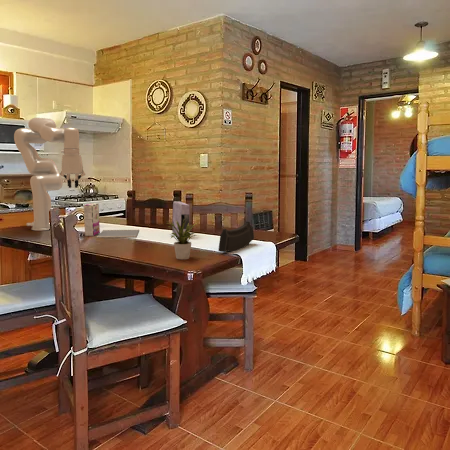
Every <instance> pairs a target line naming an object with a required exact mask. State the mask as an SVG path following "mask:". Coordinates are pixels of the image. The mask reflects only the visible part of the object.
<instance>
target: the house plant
mask: <svg viewBox="0 0 450 450" xmlns="http://www.w3.org/2000/svg"><path fill="white" fill-rule="evenodd" d="M184 220H185V219H184ZM176 221H177V220H176ZM176 223H177V226H178V229H179V232H178V230H177V229H176V227H175V226H174V225H173V223H172V222H171V221H168V220H167V224H169V226H168V227H169V228H171V229H173V227H174V228H175V229H176V231H177V233H178V235H179V237H178V236H177V234H176V232H175V231H174V229H173V231H174V232H175V233H173V232H172V233H169V235H170V239H172V238H174V239H175V240H176V241H175V242H173V246H174V253H175V257H176V258H175V259H177V260H188V259H190V254H191V250H192V241H189V240H190V239H191V238H192V237H194V236H197V235H196V234H195V232H190V231H191V229H193V228H194V227H195V225H197V224H199V222H196V223H194V224H190V222H189V223H188V225H187V228H186V231H185V232H183V227H184V224H183V226H182V229H181V226H180V225H179V222H178V221H177V222H176ZM170 225H171V226H170ZM194 234H195V235H194ZM188 237H189V238H188Z"/></svg>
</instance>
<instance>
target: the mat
mask: <svg viewBox="0 0 450 450" xmlns="http://www.w3.org/2000/svg"><path fill="white" fill-rule="evenodd" d="M139 232H140V229H103V230H102V231H100V233H99V234H97V235H96V239H121V238H122V239H125V238H126V239H127V238H128V239H129V238H137V237H138V234H139Z"/></svg>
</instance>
